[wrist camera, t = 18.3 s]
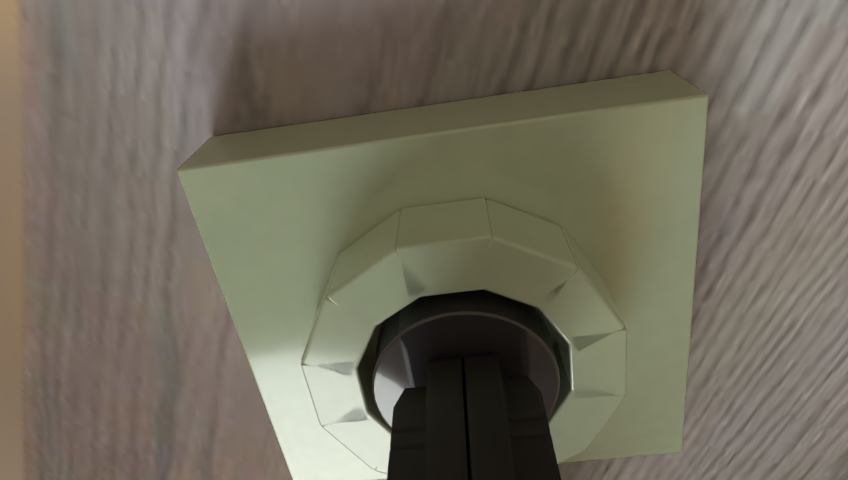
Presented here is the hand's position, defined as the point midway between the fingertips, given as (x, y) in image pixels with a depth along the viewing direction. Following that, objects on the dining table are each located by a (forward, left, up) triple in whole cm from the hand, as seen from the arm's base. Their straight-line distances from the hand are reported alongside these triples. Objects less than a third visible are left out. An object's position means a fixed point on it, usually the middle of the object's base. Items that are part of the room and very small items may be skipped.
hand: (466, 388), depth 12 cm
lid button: (0, 0, -2) cm, 2 cm away
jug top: (0, 0, -4) cm, 4 cm away
